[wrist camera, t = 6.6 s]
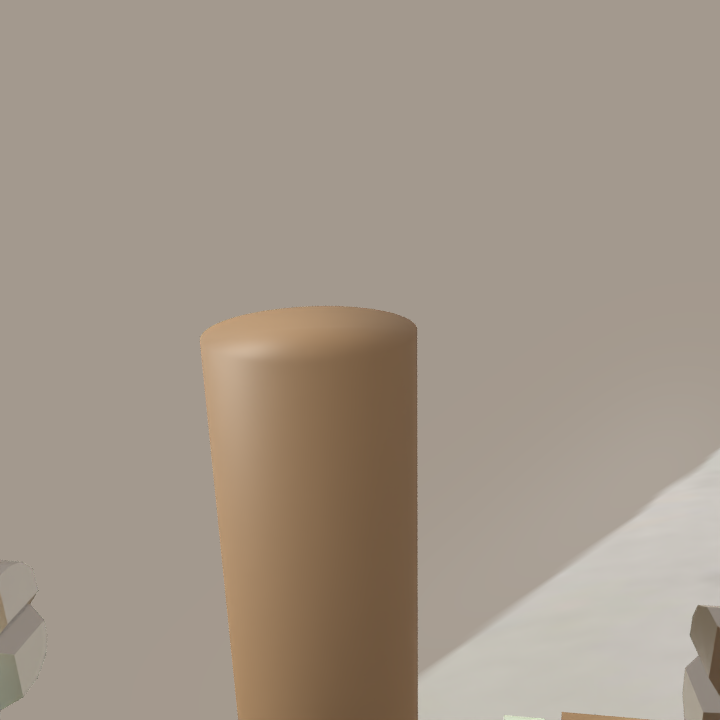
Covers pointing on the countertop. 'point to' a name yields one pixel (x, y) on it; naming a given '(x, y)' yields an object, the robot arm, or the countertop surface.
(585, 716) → the tan wooden block
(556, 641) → the countertop surface
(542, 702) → the countertop surface
